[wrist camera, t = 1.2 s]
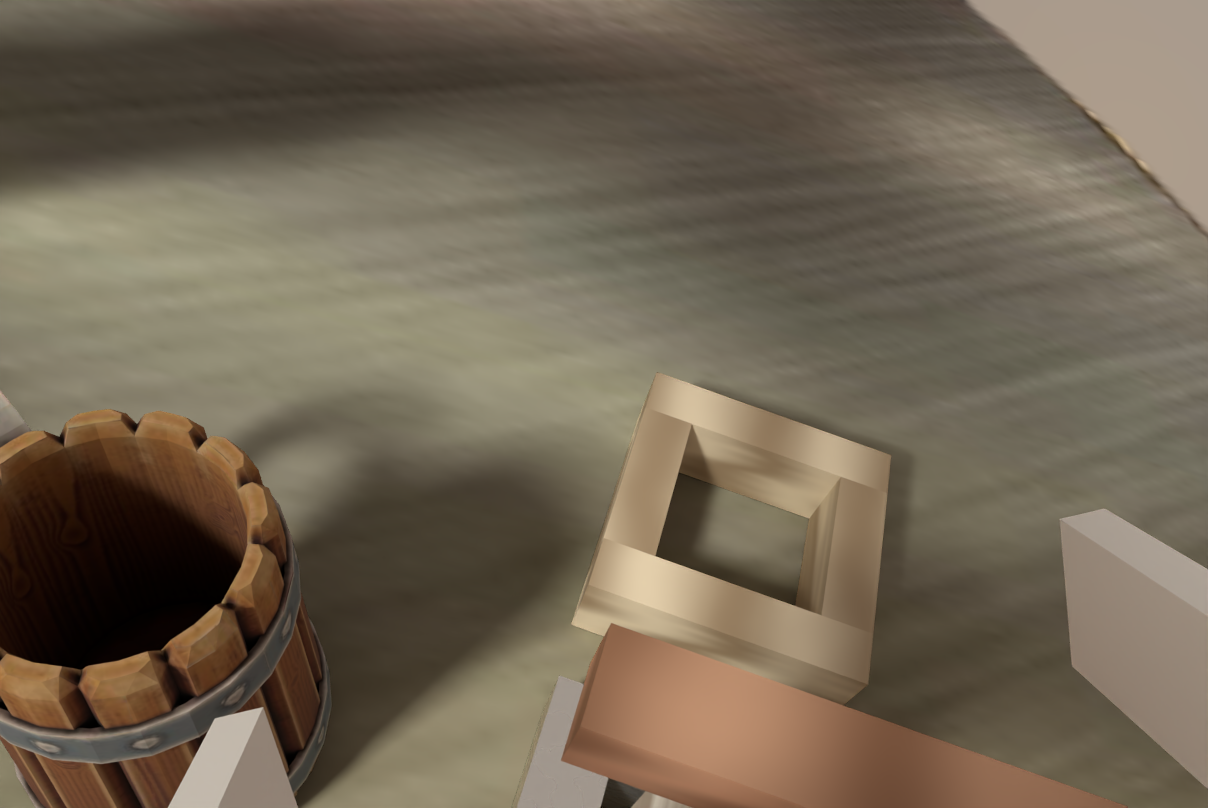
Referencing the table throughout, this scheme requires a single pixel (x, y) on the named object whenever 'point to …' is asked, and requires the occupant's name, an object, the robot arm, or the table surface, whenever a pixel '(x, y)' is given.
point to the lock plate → (555, 788)
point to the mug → (144, 609)
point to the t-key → (770, 743)
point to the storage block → (768, 474)
